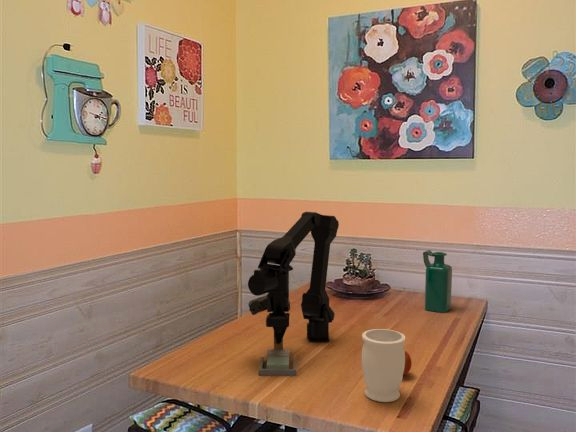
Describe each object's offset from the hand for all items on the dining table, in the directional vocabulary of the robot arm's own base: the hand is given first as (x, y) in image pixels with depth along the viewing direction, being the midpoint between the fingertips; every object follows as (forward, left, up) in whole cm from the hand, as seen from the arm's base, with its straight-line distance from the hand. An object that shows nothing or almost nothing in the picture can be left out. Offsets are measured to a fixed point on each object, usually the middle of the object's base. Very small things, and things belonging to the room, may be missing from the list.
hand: (278, 341), depth 152 cm
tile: (0, +5, -6) cm, 8 cm away
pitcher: (-58, -52, -6) cm, 78 cm away
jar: (-26, +22, -6) cm, 35 cm away
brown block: (0, 0, -5) cm, 5 cm away
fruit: (-32, +10, -6) cm, 34 cm away
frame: (0, +6, -5) cm, 8 cm away
